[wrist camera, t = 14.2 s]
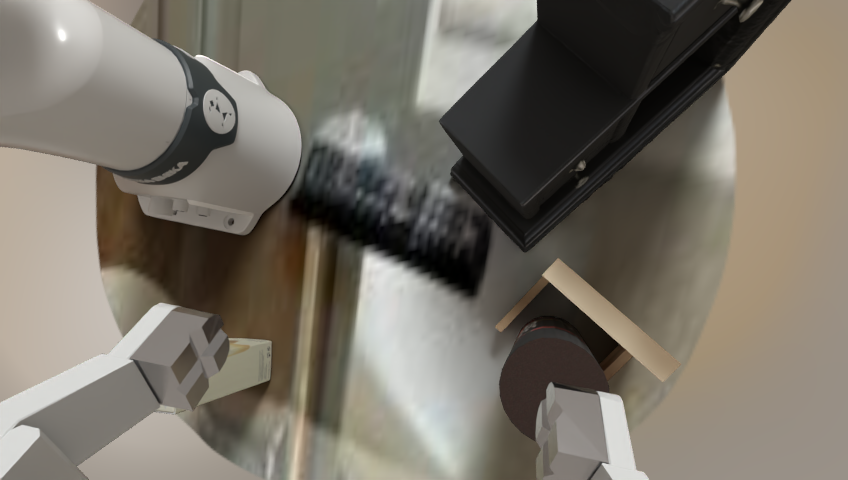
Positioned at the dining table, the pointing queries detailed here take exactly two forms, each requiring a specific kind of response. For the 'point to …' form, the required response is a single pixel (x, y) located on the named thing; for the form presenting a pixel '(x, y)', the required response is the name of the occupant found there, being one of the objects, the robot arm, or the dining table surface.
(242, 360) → the skincare box
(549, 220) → the bookend
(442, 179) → the dining table surface
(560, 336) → the deodorant
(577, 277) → the rack
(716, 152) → the dining table surface
